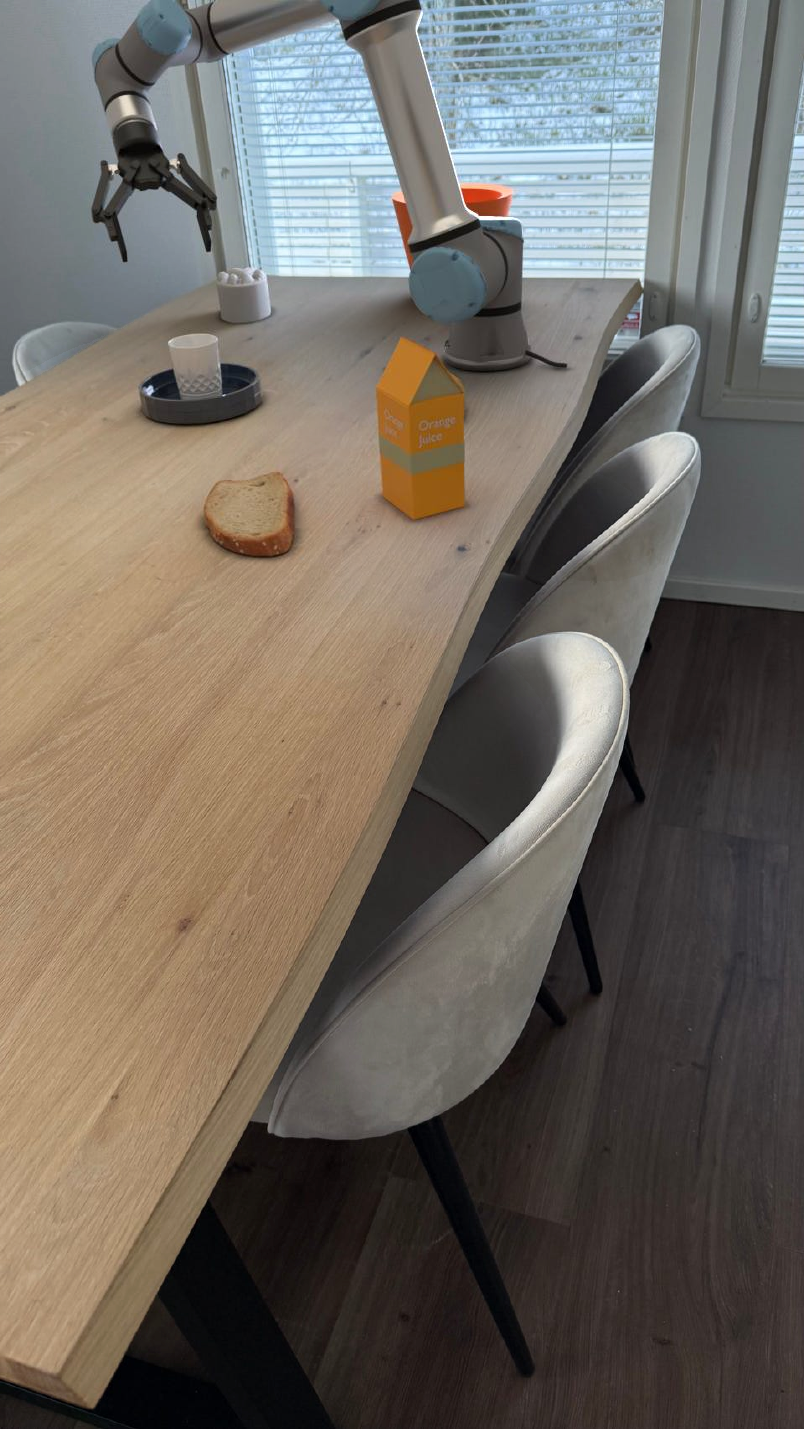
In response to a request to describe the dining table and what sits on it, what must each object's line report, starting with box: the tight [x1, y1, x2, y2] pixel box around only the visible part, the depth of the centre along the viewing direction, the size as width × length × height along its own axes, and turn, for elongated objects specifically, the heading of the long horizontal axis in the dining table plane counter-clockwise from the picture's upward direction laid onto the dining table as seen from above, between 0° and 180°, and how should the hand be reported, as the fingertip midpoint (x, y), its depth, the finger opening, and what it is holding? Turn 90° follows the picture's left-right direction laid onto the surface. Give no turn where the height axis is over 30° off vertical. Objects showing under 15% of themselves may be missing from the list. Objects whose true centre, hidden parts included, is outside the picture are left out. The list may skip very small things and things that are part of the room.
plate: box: [137, 362, 264, 425], centre depth 164 cm, size 20×20×4 cm
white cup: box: [167, 333, 223, 400], centre depth 162 cm, size 8×8×10 cm
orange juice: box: [375, 335, 466, 521], centre depth 124 cm, size 8×9×20 cm
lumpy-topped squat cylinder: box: [215, 266, 272, 324], centre depth 208 cm, size 10×13×9 cm
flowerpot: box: [391, 182, 515, 272], centre depth 210 cm, size 25×25×20 cm
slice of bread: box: [203, 470, 295, 557], centre depth 127 cm, size 18×18×4 cm
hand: (167, 252), depth 160 cm, fingers open, 13 cm apart
